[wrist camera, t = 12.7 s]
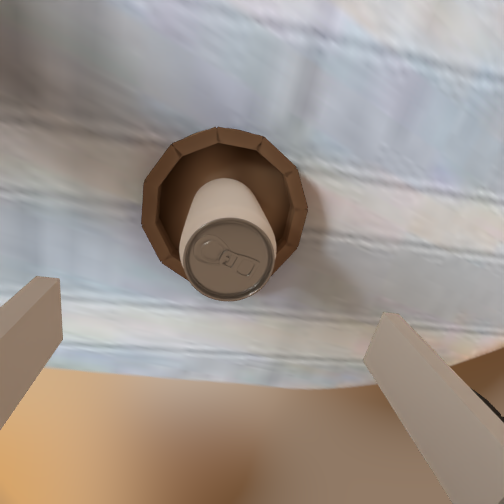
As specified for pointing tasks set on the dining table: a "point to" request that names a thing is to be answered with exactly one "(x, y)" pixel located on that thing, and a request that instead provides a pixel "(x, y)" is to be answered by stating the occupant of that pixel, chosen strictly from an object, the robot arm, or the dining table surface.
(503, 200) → the dining table surface
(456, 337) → the dining table surface
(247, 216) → the can
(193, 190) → the round tray
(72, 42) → the dining table surface
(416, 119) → the dining table surface
